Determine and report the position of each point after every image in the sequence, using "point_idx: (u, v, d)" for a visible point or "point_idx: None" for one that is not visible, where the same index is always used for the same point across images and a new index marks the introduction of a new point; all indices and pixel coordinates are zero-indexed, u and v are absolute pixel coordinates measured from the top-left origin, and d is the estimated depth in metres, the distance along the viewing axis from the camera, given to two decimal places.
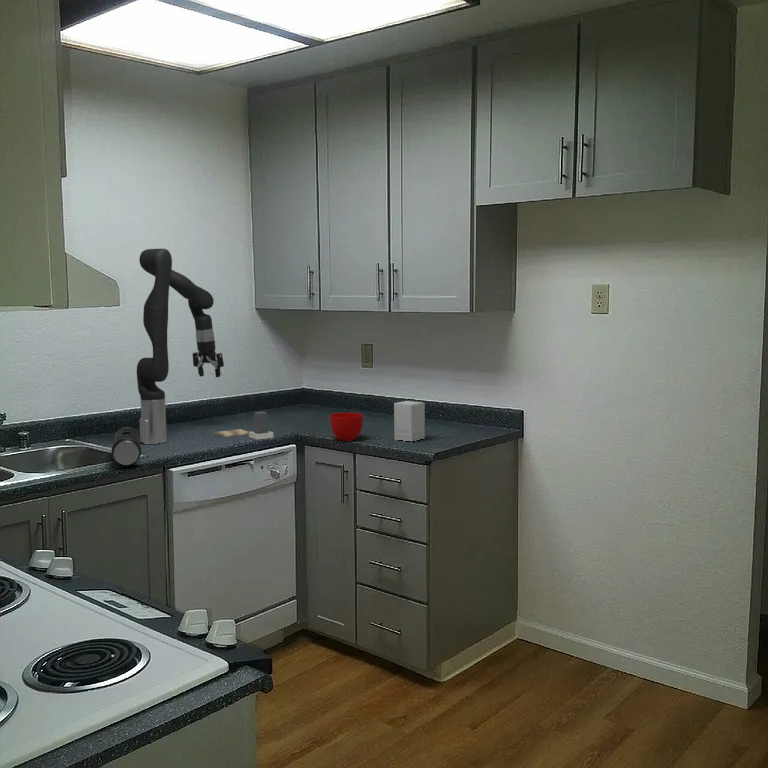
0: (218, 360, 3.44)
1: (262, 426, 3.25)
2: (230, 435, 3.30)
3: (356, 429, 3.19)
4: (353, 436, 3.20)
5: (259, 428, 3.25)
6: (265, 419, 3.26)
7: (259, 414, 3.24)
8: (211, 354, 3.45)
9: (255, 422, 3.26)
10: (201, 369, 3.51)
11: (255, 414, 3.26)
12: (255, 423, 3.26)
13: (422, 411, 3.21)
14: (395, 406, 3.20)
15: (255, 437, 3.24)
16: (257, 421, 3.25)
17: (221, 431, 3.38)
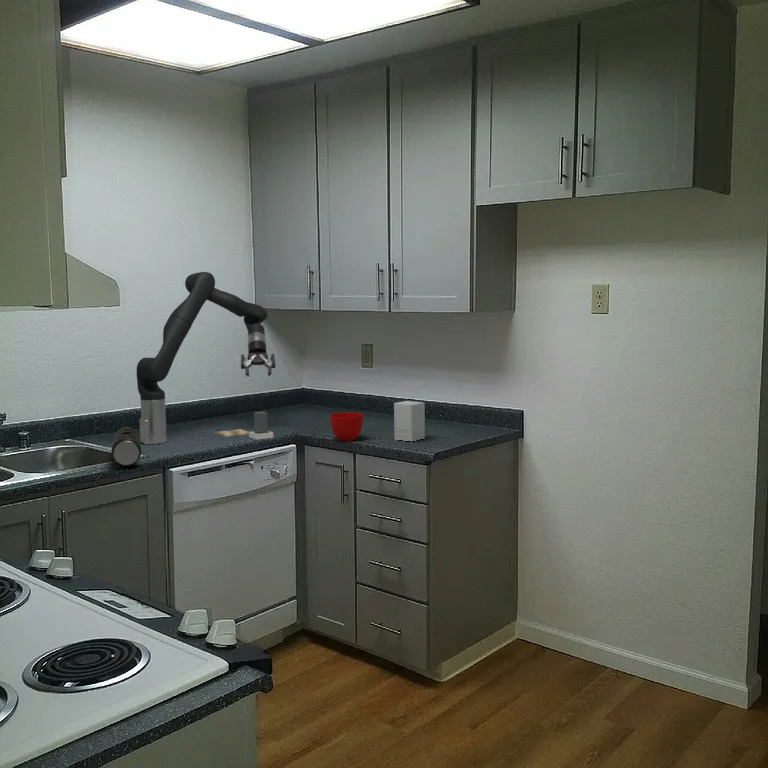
0: (273, 358, 3.41)
1: (262, 426, 3.25)
2: (230, 435, 3.30)
3: (356, 429, 3.19)
4: (353, 436, 3.20)
5: (259, 428, 3.25)
6: (265, 419, 3.26)
7: (259, 414, 3.24)
8: (265, 354, 3.42)
9: (255, 422, 3.26)
10: (248, 369, 3.37)
11: (255, 414, 3.26)
12: (255, 423, 3.26)
13: (422, 411, 3.21)
14: (395, 406, 3.20)
15: (255, 437, 3.24)
16: (257, 421, 3.25)
17: (221, 431, 3.38)
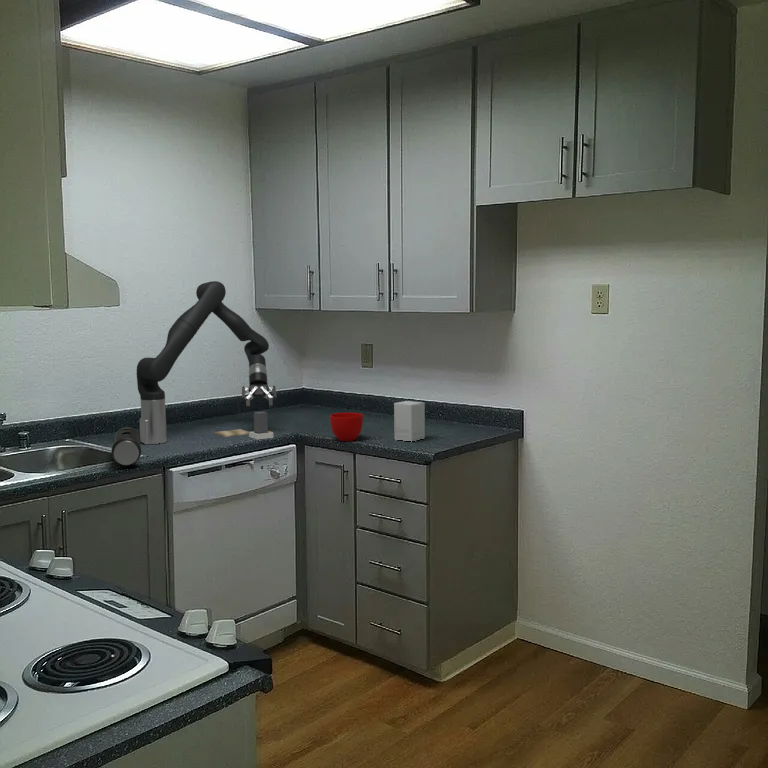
0: (274, 390, 3.38)
1: (262, 426, 3.25)
2: (230, 435, 3.30)
3: (356, 429, 3.19)
4: (353, 436, 3.20)
5: (259, 428, 3.25)
6: (265, 419, 3.26)
7: (259, 414, 3.24)
8: (266, 386, 3.39)
9: (255, 422, 3.26)
10: (249, 401, 3.34)
11: (255, 414, 3.26)
12: (255, 423, 3.26)
13: (422, 411, 3.21)
14: (395, 406, 3.20)
15: (255, 437, 3.24)
16: (257, 421, 3.25)
17: (221, 431, 3.38)
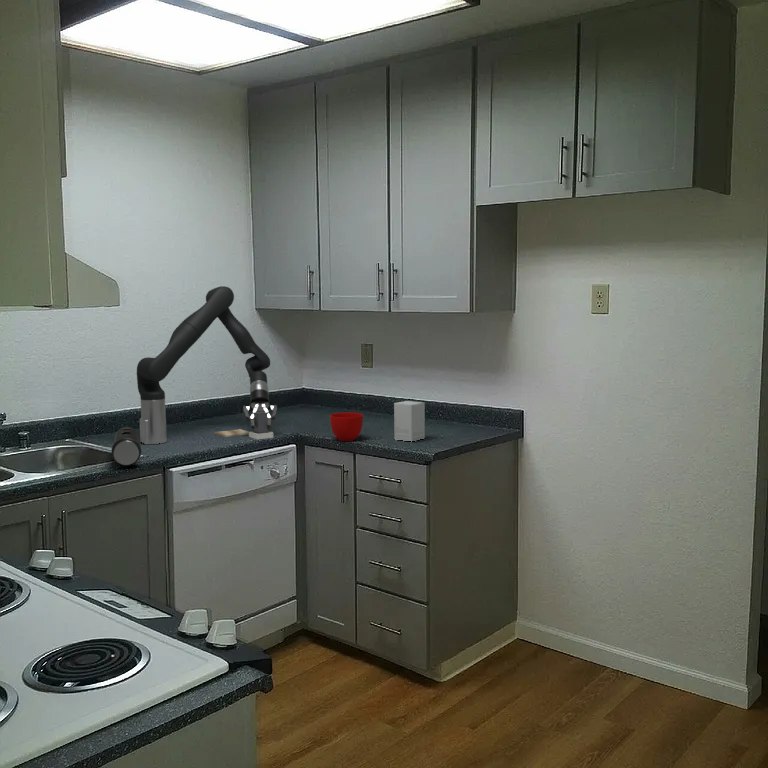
0: (274, 410, 3.30)
1: (262, 426, 3.25)
2: (230, 435, 3.30)
3: (356, 429, 3.19)
4: (353, 436, 3.20)
5: (259, 428, 3.25)
6: (265, 419, 3.26)
7: (259, 414, 3.24)
8: (267, 404, 3.32)
9: (255, 422, 3.26)
10: None
11: (255, 414, 3.26)
12: (255, 423, 3.26)
13: (422, 411, 3.21)
14: (395, 406, 3.20)
15: (255, 437, 3.24)
16: (257, 421, 3.25)
17: (221, 431, 3.38)
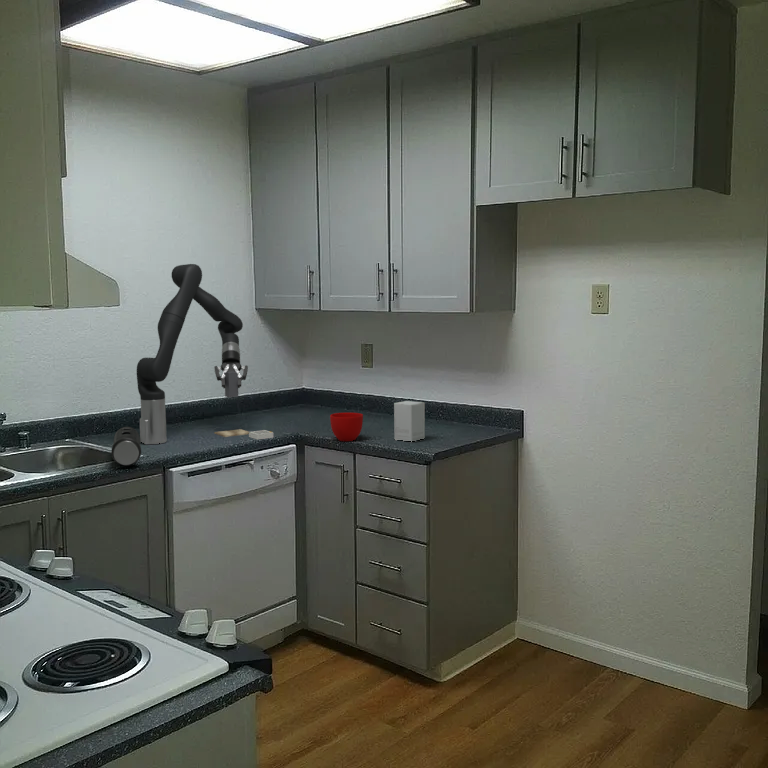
0: (245, 370, 3.37)
1: (233, 386, 3.32)
2: (230, 435, 3.30)
3: (356, 429, 3.19)
4: (353, 436, 3.20)
5: (229, 387, 3.31)
6: (235, 379, 3.33)
7: (229, 373, 3.31)
8: (238, 364, 3.38)
9: (226, 382, 3.33)
10: (224, 381, 3.33)
11: (226, 374, 3.33)
12: (226, 383, 3.33)
13: (422, 411, 3.21)
14: (395, 406, 3.20)
15: (255, 437, 3.24)
16: (227, 380, 3.32)
17: (221, 431, 3.38)
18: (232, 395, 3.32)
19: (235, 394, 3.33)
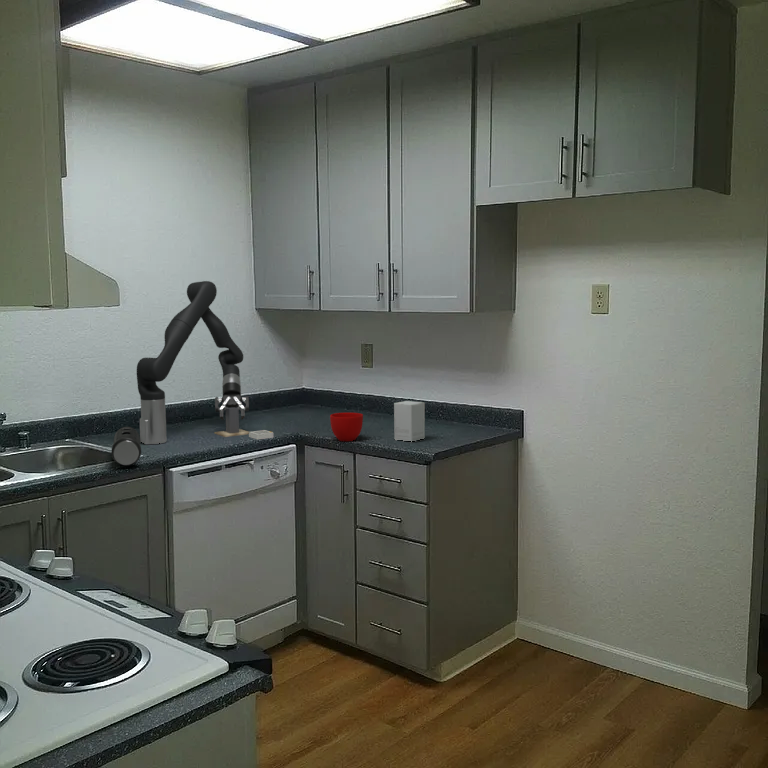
0: (247, 401, 3.39)
1: (233, 422, 3.34)
2: (230, 435, 3.30)
3: (356, 429, 3.19)
4: (353, 436, 3.20)
5: (230, 423, 3.33)
6: (236, 415, 3.34)
7: (230, 410, 3.33)
8: (239, 396, 3.40)
9: (226, 417, 3.35)
10: None
11: (226, 410, 3.35)
12: (227, 419, 3.35)
13: (422, 411, 3.21)
14: (395, 406, 3.20)
15: (255, 437, 3.24)
16: (228, 417, 3.34)
17: (221, 431, 3.38)
18: (233, 431, 3.34)
19: (236, 430, 3.35)
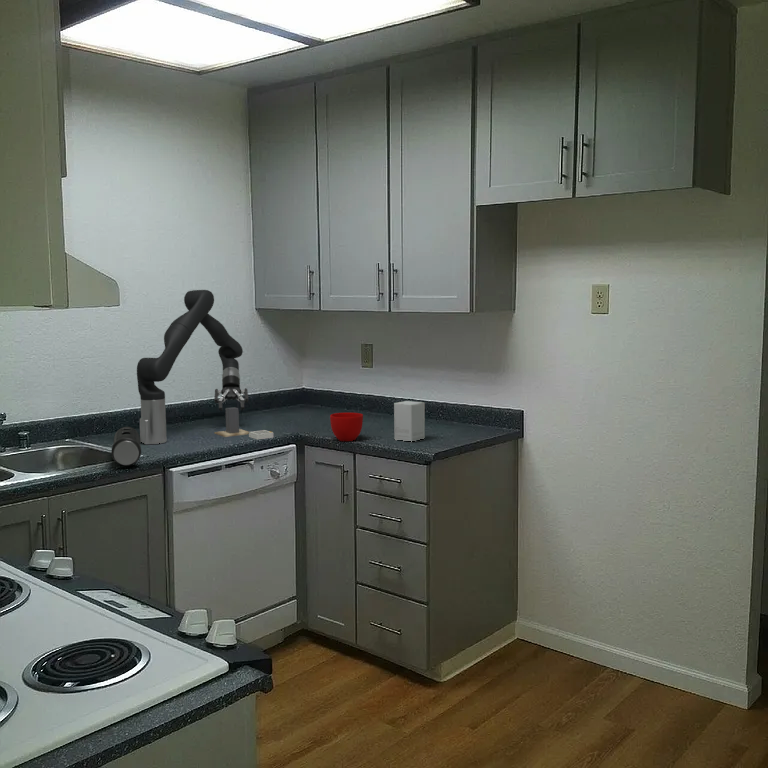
0: (246, 393, 3.51)
1: (233, 422, 3.34)
2: (230, 435, 3.30)
3: (356, 429, 3.19)
4: (353, 436, 3.20)
5: (230, 423, 3.33)
6: (236, 415, 3.34)
7: (230, 410, 3.33)
8: (238, 389, 3.52)
9: (226, 417, 3.35)
10: None
11: (226, 410, 3.35)
12: (227, 419, 3.35)
13: (422, 411, 3.21)
14: (395, 406, 3.20)
15: (255, 437, 3.24)
16: (228, 417, 3.34)
17: (221, 431, 3.38)
18: (233, 431, 3.34)
19: (236, 430, 3.35)
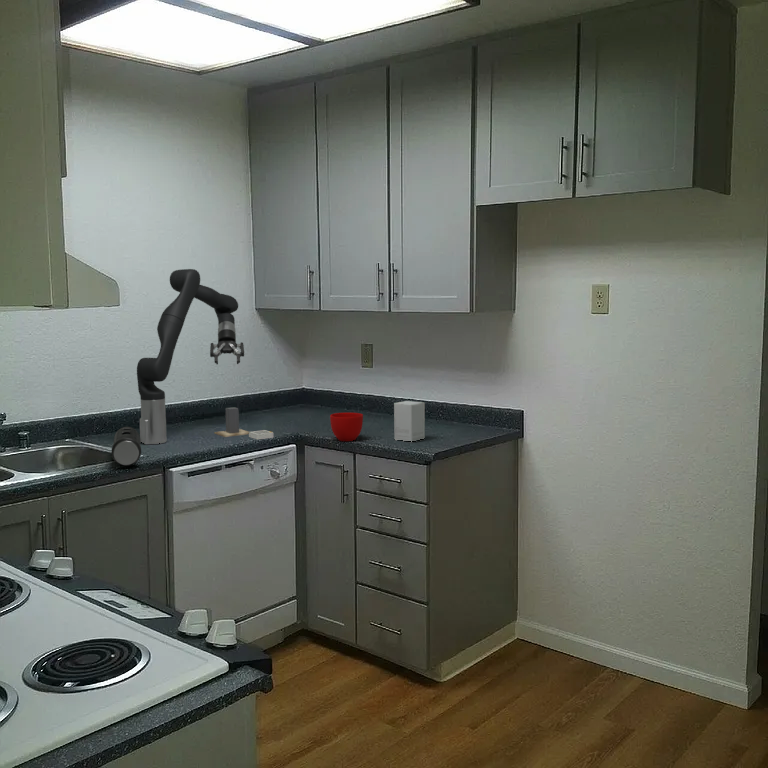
0: (242, 347, 3.49)
1: (233, 422, 3.34)
2: (230, 435, 3.30)
3: (356, 429, 3.19)
4: (353, 436, 3.20)
5: (230, 423, 3.33)
6: (236, 415, 3.34)
7: (230, 410, 3.33)
8: (234, 343, 3.49)
9: (226, 417, 3.35)
10: (217, 357, 3.45)
11: (226, 410, 3.35)
12: (227, 419, 3.35)
13: (422, 411, 3.21)
14: (395, 406, 3.20)
15: (255, 437, 3.24)
16: (228, 417, 3.34)
17: (221, 431, 3.38)
18: (233, 431, 3.34)
19: (236, 430, 3.35)
